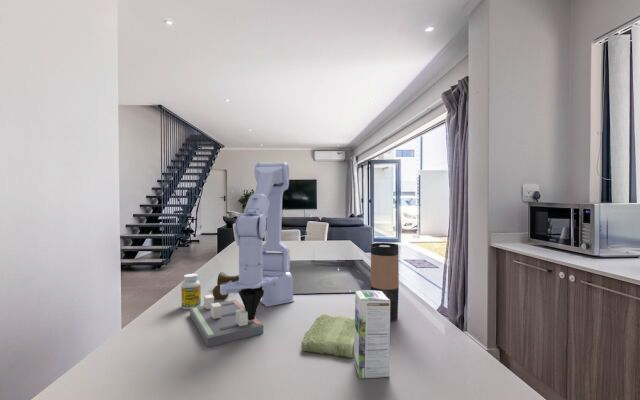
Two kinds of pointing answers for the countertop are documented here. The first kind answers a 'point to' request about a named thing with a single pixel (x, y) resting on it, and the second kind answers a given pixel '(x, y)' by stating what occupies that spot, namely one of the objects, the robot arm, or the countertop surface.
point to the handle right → (208, 301)
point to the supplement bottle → (191, 291)
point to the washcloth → (331, 336)
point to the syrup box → (372, 334)
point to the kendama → (220, 281)
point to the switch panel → (223, 324)
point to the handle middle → (216, 310)
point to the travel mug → (386, 273)
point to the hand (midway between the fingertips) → (250, 318)
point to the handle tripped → (241, 317)
